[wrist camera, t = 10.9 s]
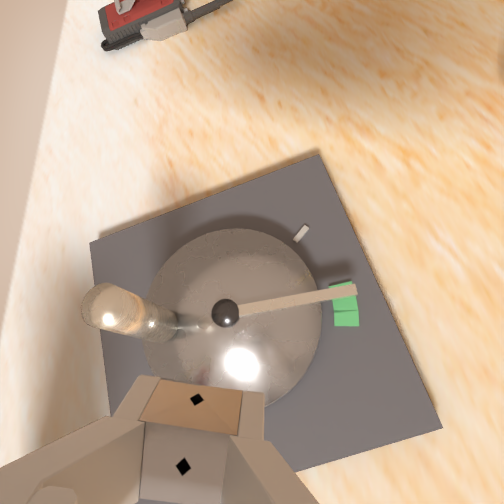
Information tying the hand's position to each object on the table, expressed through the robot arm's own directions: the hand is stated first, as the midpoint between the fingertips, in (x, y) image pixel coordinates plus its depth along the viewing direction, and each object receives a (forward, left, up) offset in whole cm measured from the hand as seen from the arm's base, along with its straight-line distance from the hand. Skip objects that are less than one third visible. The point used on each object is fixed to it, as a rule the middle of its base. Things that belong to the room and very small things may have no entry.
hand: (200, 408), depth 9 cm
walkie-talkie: (+2, -52, -25) cm, 58 cm away
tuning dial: (+2, -8, -23) cm, 24 cm away
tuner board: (+4, -8, -25) cm, 26 cm away
